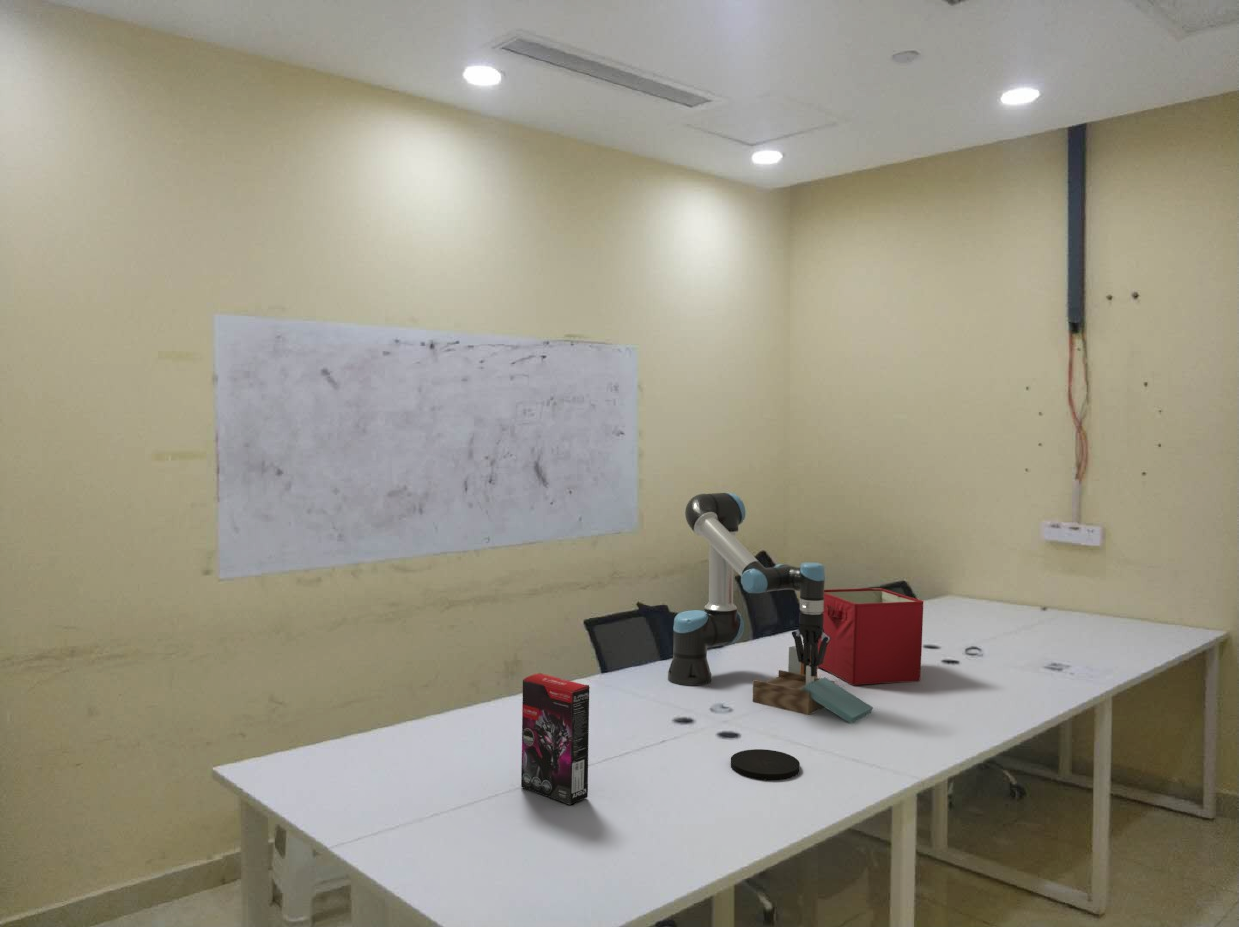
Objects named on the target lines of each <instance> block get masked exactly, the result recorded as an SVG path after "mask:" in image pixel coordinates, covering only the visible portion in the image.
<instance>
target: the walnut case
mask: <svg viewBox="0 0 1239 927" xmlns="http://www.w3.org/2000/svg"><path fill="white" fill-rule="evenodd" d="M777 673H778V675H777V676H776V677H774V678H770V679H768V680H765V681H763V680H757V679H753V680H752V702H753V703H756V704H761V705H764V706H768V707H773V708H777V709H781V710H786V711H790V712H793V713H794V712H795V713H798V714H803V715H807V716H809V715H812V714H813V713H816V712H818V711H821V710H822V709H824V708H825V707H824V706H823V705H821V704H820V703H818V702H816V701H815V700H813V699H812V698H810V692H808V691H804V690H802V688H803V686H805V685H806V675H801V674H797V673H792V672H788V670H787V671H785V670H781V669H779V670H778V672H777ZM819 679H821V678H819V677H817V678H816V677H814V681H817V680H819ZM831 681H832V682H833V683H835V681H834V680H831Z"/></svg>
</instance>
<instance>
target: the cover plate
mask: <svg viewBox="0 0 1239 927" xmlns="http://www.w3.org/2000/svg"><path fill="white" fill-rule="evenodd" d="M832 681H833V680H830V679H829V678H827V677H825V676H824V677H822V678H820V679H819V680H817V681H814V682H812V683H810V684H807V685H805V686H803V688H802V690H804V691H808V692H810V698H812V699H813V700H815V701H816V702H818V703H820V704H821V705H823V706H824V708H826V709H828V710H829V711H830V712H832V713H834V714H835V715H837V716H839V717H840V718H841V719H843V720H845V721H846V722H847V723H849V724H853V723H855V722H856V721H859V720H860V719H862V718H864V717H865V716H866V717H867V715H869V714H872V711H873V709H874V707H873V706H872V705H870V704H868V703H867V702H865V701H864V700H863V699H861V698H859V697H858V696H856V695H855V694H852V693H851V692H850V691H847V690H846V689H844V688H843V687H841V686H840V685H838V684H837V683H835V682H834V683H833V682H832Z"/></svg>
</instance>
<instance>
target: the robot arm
mask: <svg viewBox="0 0 1239 927" xmlns="http://www.w3.org/2000/svg"><path fill="white" fill-rule="evenodd" d="M684 512H685V513H684V515H685V519H686V520H685V521H686V522H687V524H688V526H689V528H690V529H691V530H692V531H693V532H694V533H695V535H697V536H701V537H703V539H704V540H706V542H708V543H709V550H708V551H709V557H708V559H709V560H708V561H709V562H708V565H709V566H708V567H709V568H708V569H709V570H708V602H707V604H706V605H704V607H703V608H704V610H699V609H695V610H686V611H685V610H684V611H682V612H679V613H677V614H676V616H674V620H673V627H672V628H673V649H672V650H673V653H672V654H673V656H672V660H671V663H670V666H669V669H668V671H667V680H668V681H669V682H671V683H673V684H678V685H682V686H683V685H684V686H700V685H701V686H702V685H706V684H709V683H711V681H712V672H711V669H710V666H709V661H708V657H707V656H708V655H707V654H708V653H707V651H708V648H713V647H719V646H728V645H730V644H734V643H737V642H738V640H740V639H741V637H742V635H743V633H744V627H745V623H744V619H743V618H742V617H743V616H742V615H741V613H740V612H738V607H737V606H736V604H734V571H735V572H736V573H737V574H738V575H739V576H740V583H741V585H742V589H743V590H744V591H745V592H747V593H748V594H761V593H767V592H776V591H783V590H784V591H785V590H792V591H798V592H799V610H800V612H799V616H798V618H799V619H798V622H799V626H798V627H797V628H798V629H796V630H794V631H791V635H792V637H793V640H794V646H796V651H797V656H798V661H799V662H801V663H803V664H804V675H806V685H807V684H810V683H812V682H814V676H816V675H817V676H818V667H817V666H819V665H821V664H823V660H824V656H825V652H826V648H827V645H828V642H829V641H830V639H831V637H830V636H827V635H826V634H825V633H824V629H823V622H824V614H823V613H822V612H823V611H824V590H825V581H826V580H825V579H826V574H825V566H824V565H823V564H821V563H819V562H802V563H801V564H800V567H799V566H795V565H790V564H786V563H785V564H779V563H778V564H776V565H774V566H772V567H771V566H770V567H765V566H764V565H763V564H762V563H761V562H760V561H759V560H758V559H757V558H756V557H755V556H754V555H753V554H752V553H751V552H750V551H749V550H748V549H747V548H746V547H745V546H744V545H743V544H742V542H740V541H739V540H738V539H737V538H736V537H735V535H737V534H738V532H739V526H740V525H741V524H742V523H743V522H744V521H745V519H746V515H747V514H746V512H747V511H746V507H745V503H744V502H743V500H742V499H741V497H739V496H738V495H737V494H735V493H732V492H717V493H715V492H713V493H700V494H696V495H694V496H693V497H691V498H690V499H689V501H688V502H687V504H686V506H685V511H684ZM821 637H822V639H821V640H822V642H821V644H820V648H819V652H818V644H819V639H820V638H821ZM803 645H804V649H803ZM810 655H811V662H810ZM810 663H811V664H810ZM809 664H810V665H809Z"/></svg>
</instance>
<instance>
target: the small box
mask: <svg viewBox="0 0 1239 927" xmlns="http://www.w3.org/2000/svg"><path fill="white" fill-rule="evenodd" d="M803 649H804V644H803ZM810 662H811V655H810ZM810 664H811V663H810ZM810 664H809V665H810ZM787 666H788V669H787V672H792V673H797V674H801V675H804V664H803V663H801V662H799V661H798V656H797V651H796V646H795V645H794V646H789V647H788V665H787ZM814 677H816V678H818V674H817V675H816V676H814Z"/></svg>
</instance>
